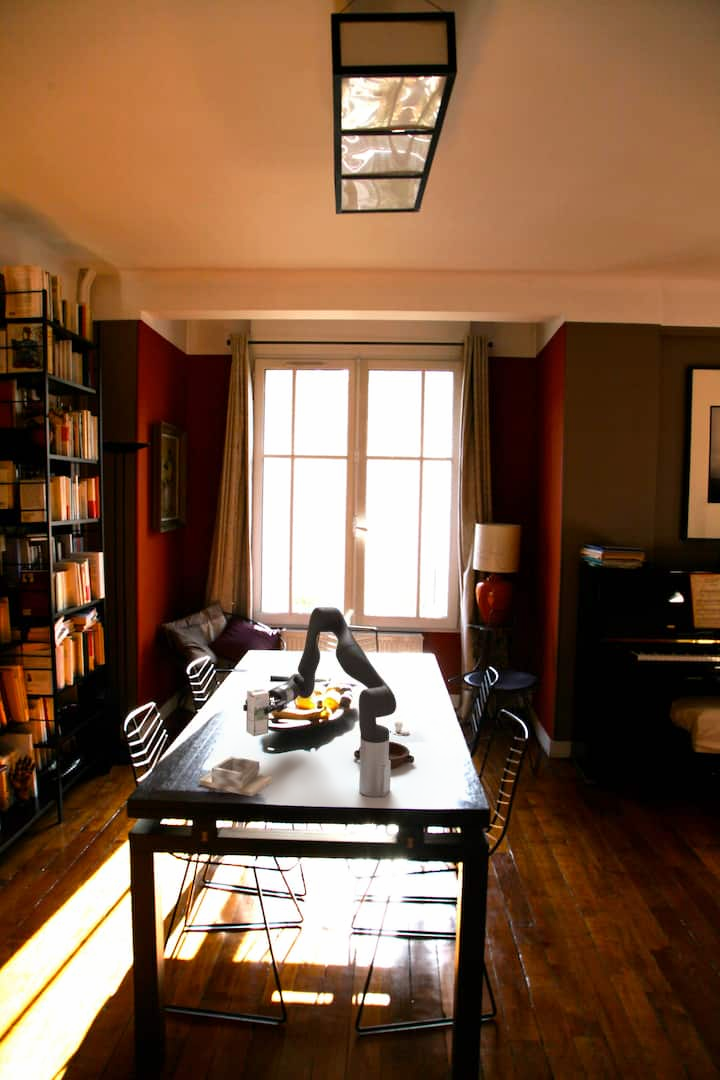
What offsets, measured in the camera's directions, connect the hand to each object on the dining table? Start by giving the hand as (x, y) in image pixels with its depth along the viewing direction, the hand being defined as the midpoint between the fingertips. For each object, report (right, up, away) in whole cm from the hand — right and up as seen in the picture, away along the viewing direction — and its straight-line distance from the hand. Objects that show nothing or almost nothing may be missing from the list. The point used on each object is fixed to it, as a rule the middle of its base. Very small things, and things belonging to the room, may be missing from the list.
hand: (254, 710), depth 204 cm
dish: (+44, -23, +12) cm, 51 cm away
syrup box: (+1, -9, +2) cm, 9 cm away
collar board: (-5, -22, -8) cm, 24 cm away
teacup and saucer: (+51, -22, +41) cm, 69 cm away
